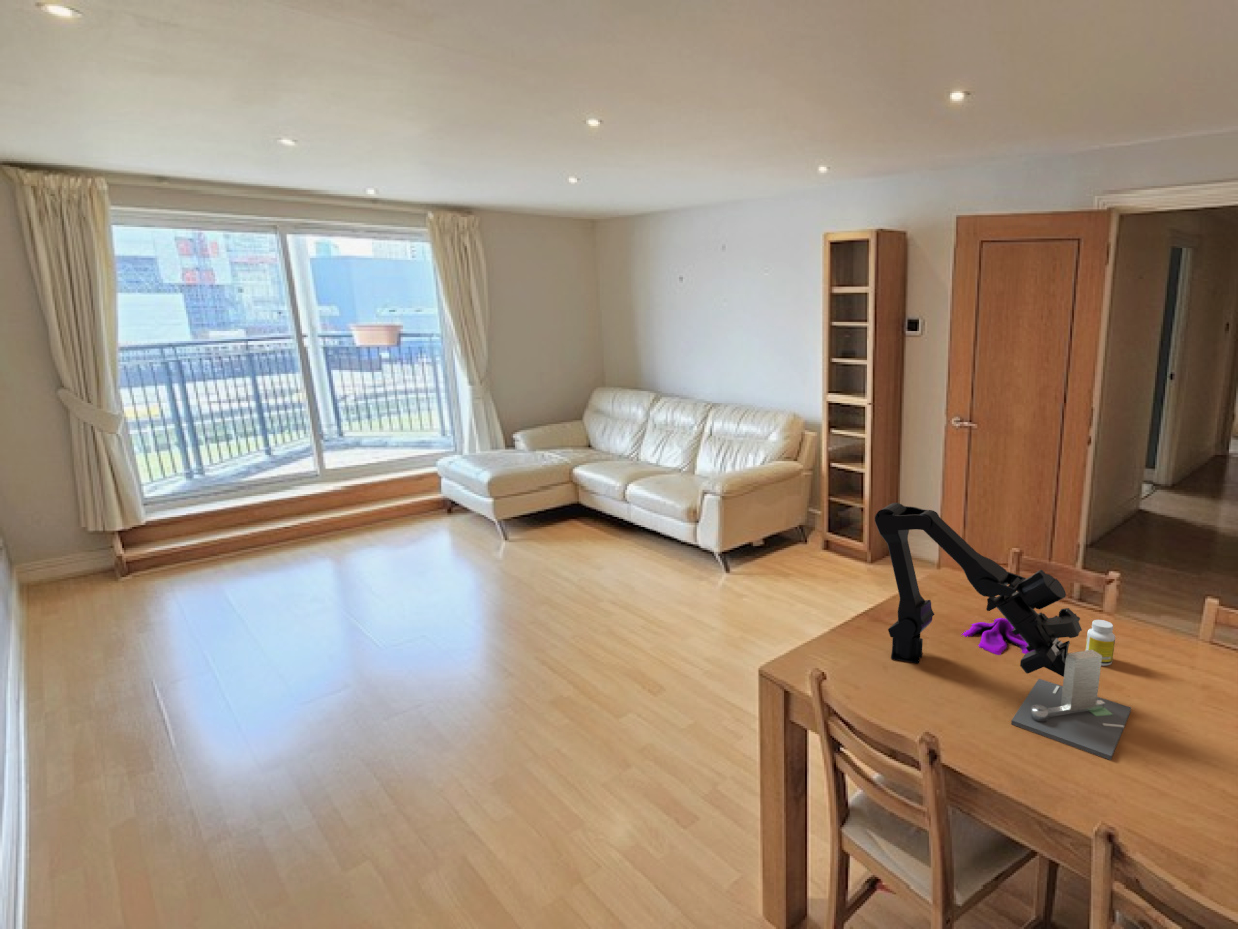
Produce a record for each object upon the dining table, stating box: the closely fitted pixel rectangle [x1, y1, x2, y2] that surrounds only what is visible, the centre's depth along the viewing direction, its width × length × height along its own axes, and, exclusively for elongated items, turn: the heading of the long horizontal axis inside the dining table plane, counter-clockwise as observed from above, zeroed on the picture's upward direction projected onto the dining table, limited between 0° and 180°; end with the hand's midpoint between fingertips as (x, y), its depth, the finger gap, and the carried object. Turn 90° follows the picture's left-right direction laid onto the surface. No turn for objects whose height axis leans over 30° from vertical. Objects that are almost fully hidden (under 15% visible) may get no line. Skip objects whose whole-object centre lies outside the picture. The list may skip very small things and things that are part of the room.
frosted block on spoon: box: [1031, 650, 1105, 722], centre depth 135 cm, size 16×3×13 cm, turn 98°
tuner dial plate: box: [1010, 678, 1132, 761], centre depth 137 cm, size 20×17×1 cm
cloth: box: [961, 617, 1035, 656], centre depth 170 cm, size 22×19×6 cm
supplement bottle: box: [1084, 619, 1116, 667], centre depth 156 cm, size 5×5×10 cm
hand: (1077, 681), depth 137 cm, fingers closed
